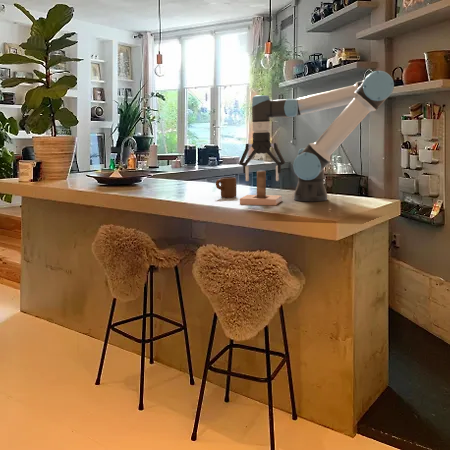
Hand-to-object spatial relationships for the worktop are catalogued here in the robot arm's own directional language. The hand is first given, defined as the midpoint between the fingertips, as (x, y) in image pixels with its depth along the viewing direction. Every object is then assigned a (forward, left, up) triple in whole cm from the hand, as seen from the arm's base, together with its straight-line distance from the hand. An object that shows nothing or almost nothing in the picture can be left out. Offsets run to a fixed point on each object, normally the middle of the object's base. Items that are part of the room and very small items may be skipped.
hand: (262, 180), depth 233 cm
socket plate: (0, 0, -10) cm, 10 cm away
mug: (-15, -21, -10) cm, 28 cm away
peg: (0, 0, -10) cm, 10 cm away
